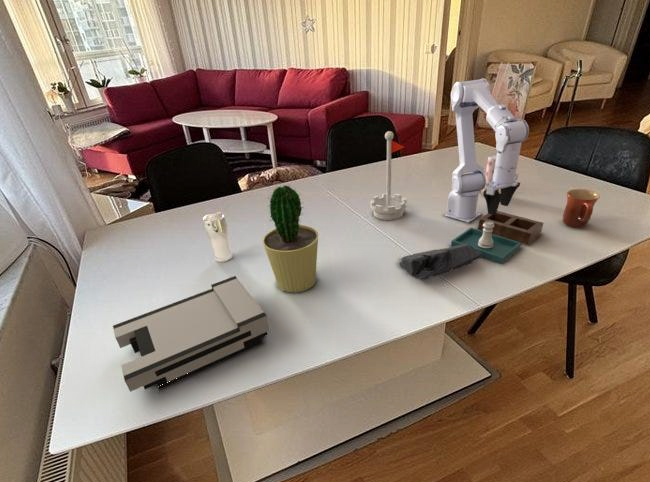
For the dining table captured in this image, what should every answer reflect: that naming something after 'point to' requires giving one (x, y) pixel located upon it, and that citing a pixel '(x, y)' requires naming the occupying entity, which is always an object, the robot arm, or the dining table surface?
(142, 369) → the game console
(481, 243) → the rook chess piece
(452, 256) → the dark slate chunk
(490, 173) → the beverage can
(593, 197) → the mug
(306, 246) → the potted cactus
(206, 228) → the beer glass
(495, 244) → the tray
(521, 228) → the wooden compartment box
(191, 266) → the dining table surface
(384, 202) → the flag stand
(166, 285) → the dining table surface
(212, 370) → the dining table surface
